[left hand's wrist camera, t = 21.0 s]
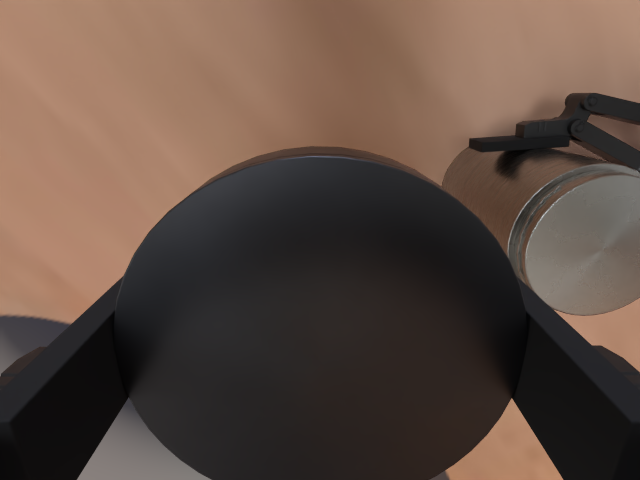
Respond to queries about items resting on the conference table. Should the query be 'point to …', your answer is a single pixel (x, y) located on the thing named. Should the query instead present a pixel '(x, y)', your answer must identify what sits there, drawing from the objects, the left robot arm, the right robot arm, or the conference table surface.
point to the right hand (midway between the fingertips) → (470, 210)
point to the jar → (558, 222)
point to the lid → (320, 322)
